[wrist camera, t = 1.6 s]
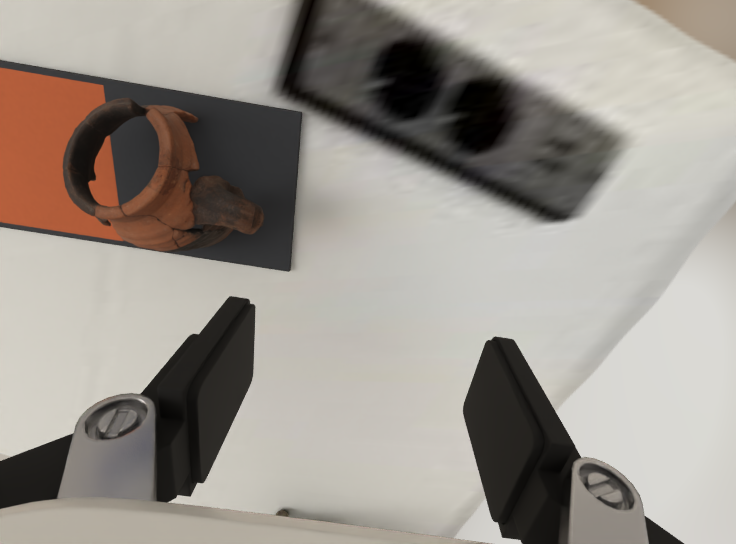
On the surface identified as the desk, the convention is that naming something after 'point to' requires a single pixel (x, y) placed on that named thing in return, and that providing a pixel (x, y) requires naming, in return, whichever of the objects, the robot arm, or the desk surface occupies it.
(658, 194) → the desk surface
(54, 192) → the desk mat
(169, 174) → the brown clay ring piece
